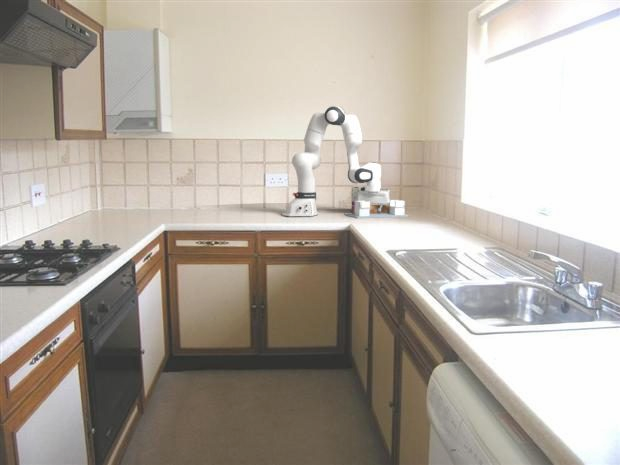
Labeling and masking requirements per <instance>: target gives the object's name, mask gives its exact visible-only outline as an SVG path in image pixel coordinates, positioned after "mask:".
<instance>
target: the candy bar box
mask: <svg viewBox="0 0 620 465" xmlns="http://www.w3.org/2000/svg"><path fill="white" fill-rule="evenodd" d="M361 187H362V186H352V187H351V213H353V206H354V203H355V201H357V199H358V193H359V192H360V191H359V188H361Z"/></svg>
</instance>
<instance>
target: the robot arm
mask: <svg viewBox="0 0 620 465" xmlns="http://www.w3.org/2000/svg"><path fill="white" fill-rule="evenodd" d="M329 125H332V126H340V128H341V130H342V135H343V140H344V144H345V149H346V156H347V162H348V163H347V164H348V171H347V178H348V180H349V181H350V183H352V184H364V183H366V185H364V186H360V187H361V188H359V191H360V192H359V193H358V199H357V201H365V202H370V204H372V205H380V208H378V211H381V208H382V207H383V205H389V203H390V200H391V199H390V196H391V195H390V193H391V192H390V190H389V189H388V188H382V182H381V181H382V180H381V178H382V166H381V164H380V163H378V162H376V161H368V162H367V163H366V164H364V165H362V166H360V163H359V155H358V150H359V148H360V146H361V145H362V143H363V134H362V130H361V125H360V120H359V119H358V116H356V115H355V114H346V112H345V110H344V109H343V107H341V106H339V105H332V106H329V107H328V108H327V109H326V110H325V112H315V113H313V114H312V117H311V118H310V120H309V123H308V124H307V127H306V128H307V129H306V132H305V135H304V139H303V142H304V151H301V152H300V151H299V152H297V153H295V154H294V155H293V157H292V159H291V163H292V166H293V167H294V169H295V173H296V178H297V192H293V193H292V196H294V199H292V200H290V201H289V203H287V204H286V206H285V211H284V212H282V213H281V215H282V216H285V217H314V216H318V215H319V214H318V210H317V204H316V203H317V192H316V187H317V185H316V178H315V176H314V173H313V170H315V169H318V167H320V166H321V164H322V159H321V148H322V143H323V140H324V137H325V134H326V130H327V127H328V126H329Z"/></svg>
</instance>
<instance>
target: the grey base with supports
mask: <svg viewBox="0 0 620 465" xmlns="http://www.w3.org/2000/svg"><path fill="white" fill-rule="evenodd" d="M370 205H371V203H370V202H365V201H355V203H354V207H355V214H353V212H344V214H343V215H344V216H347V217H351V218H355V219H377V218H378V219H379V218H381V219H382V218H403V217H404V218H408V217H409V214H406V213H405V210H406V209H405V207H406V200H401V199H390V203H389V204H388V205H389V206H390V213H381V214H369V212H370Z"/></svg>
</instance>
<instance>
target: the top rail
mask: <svg viewBox="0 0 620 465" xmlns="http://www.w3.org/2000/svg"><path fill="white" fill-rule="evenodd" d="M378 208H380V204H370V212H369V214H381V213H390V206H389V204H383V207H382V208H381V211H378ZM352 213H353V214H355V207H354V206H353V212H352Z"/></svg>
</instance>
